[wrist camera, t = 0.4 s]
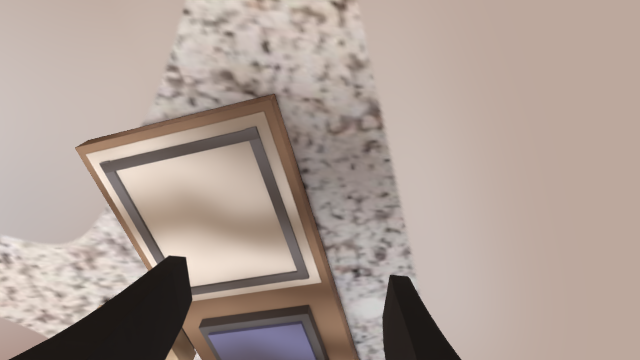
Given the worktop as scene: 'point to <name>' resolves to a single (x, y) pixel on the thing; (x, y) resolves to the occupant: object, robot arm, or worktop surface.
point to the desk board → (228, 230)
